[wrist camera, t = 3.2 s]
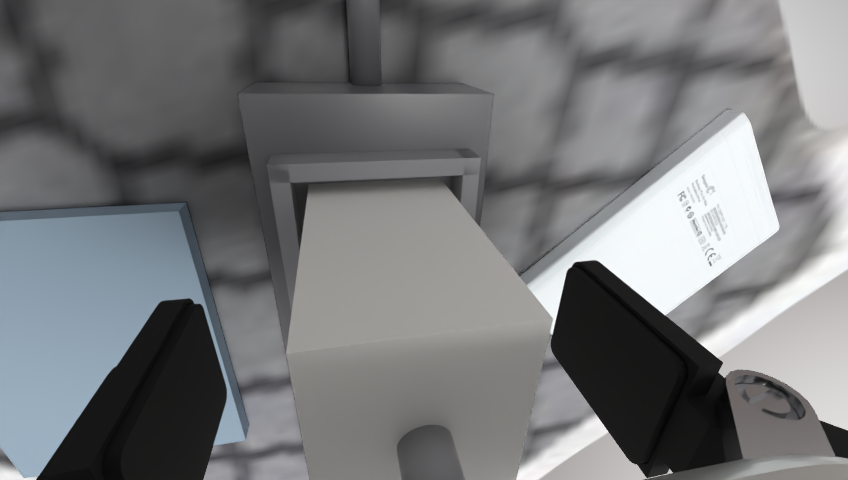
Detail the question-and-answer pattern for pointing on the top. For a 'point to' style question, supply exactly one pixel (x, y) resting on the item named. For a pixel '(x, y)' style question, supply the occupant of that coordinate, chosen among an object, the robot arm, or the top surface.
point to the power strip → (356, 142)
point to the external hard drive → (673, 221)
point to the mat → (89, 313)
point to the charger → (409, 338)
